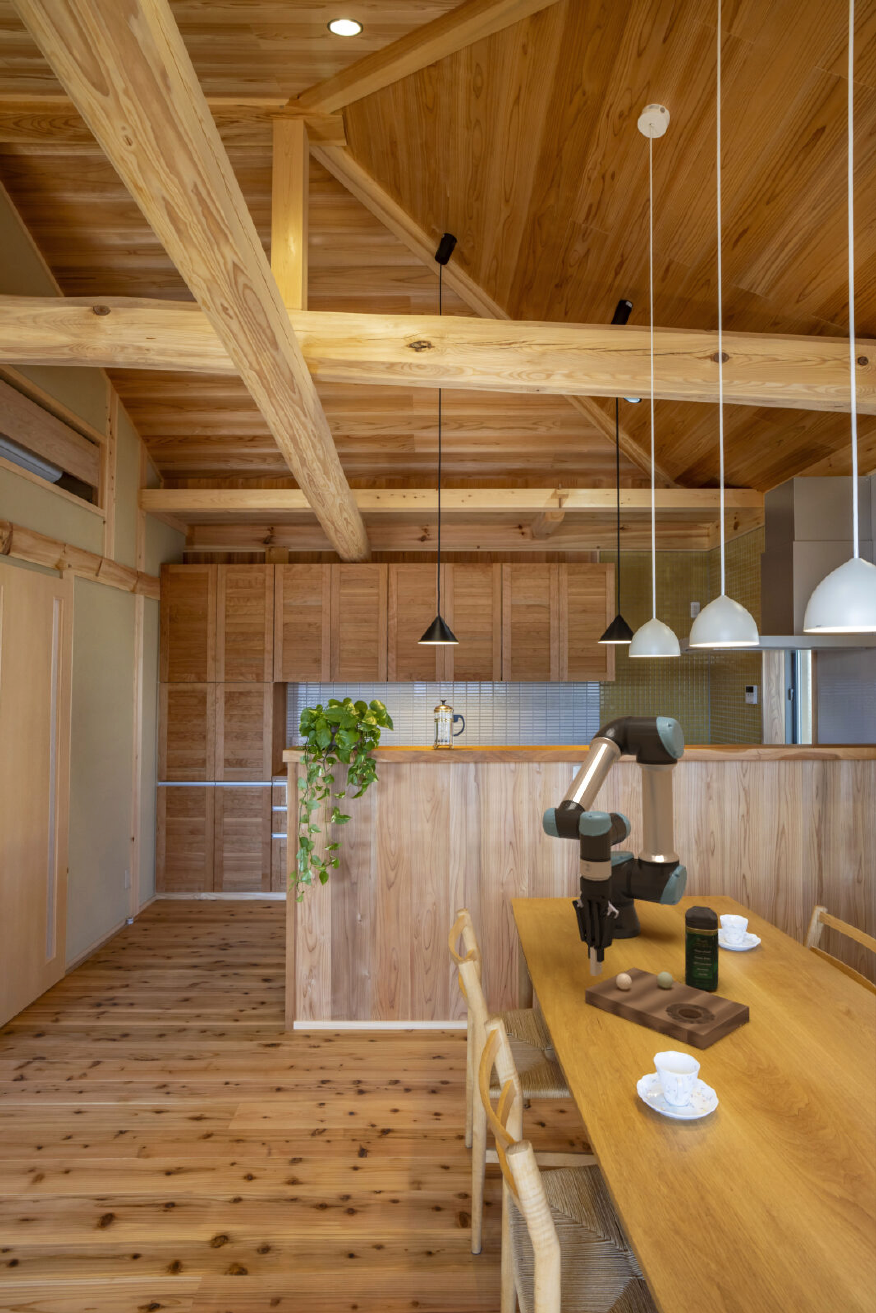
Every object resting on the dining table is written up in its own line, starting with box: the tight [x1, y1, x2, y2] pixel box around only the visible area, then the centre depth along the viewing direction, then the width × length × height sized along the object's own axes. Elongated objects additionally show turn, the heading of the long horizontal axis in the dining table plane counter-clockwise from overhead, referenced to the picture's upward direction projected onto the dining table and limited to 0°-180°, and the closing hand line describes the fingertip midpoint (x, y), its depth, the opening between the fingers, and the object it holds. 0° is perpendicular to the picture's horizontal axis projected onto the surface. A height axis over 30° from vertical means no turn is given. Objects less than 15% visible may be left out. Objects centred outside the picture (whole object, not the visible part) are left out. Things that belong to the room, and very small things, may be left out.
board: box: [584, 967, 750, 1051], centre depth 172 cm, size 30×20×3 cm, turn 41°
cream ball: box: [616, 972, 632, 990], centre depth 177 cm, size 4×4×4 cm
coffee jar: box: [684, 905, 720, 992], centre depth 187 cm, size 10×8×19 cm
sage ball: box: [657, 971, 674, 988], centre depth 177 cm, size 4×4×4 cm
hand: (596, 973), depth 183 cm, fingers closed
